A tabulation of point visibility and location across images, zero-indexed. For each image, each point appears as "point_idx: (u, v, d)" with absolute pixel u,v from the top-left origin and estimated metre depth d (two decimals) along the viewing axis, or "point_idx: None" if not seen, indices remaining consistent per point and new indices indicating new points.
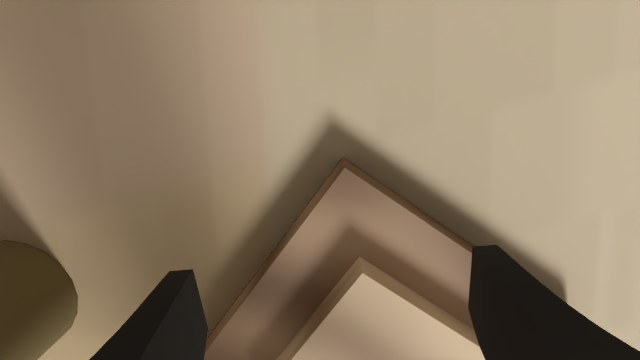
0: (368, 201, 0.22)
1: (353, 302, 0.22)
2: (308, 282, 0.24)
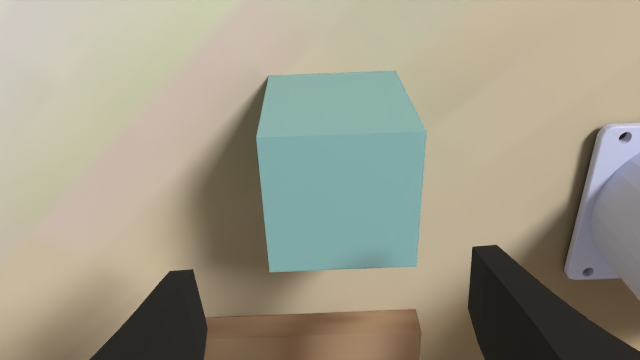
0: None
1: None
2: None
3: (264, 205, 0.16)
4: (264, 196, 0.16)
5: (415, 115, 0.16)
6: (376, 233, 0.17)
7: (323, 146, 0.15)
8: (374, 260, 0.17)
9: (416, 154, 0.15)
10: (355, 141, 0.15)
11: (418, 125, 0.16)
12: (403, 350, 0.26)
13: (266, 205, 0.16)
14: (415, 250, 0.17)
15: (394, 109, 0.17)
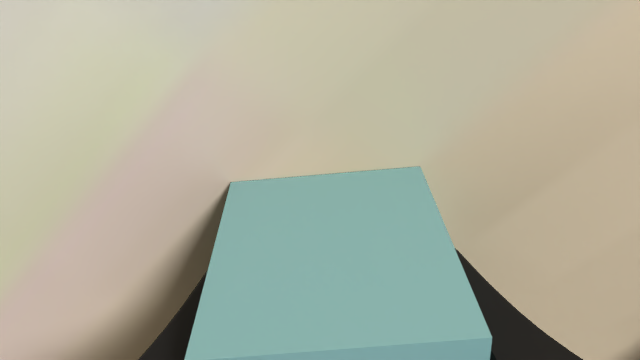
0: None
1: None
2: None
3: None
4: None
5: (465, 287, 0.09)
6: None
7: None
8: None
9: None
10: (364, 357, 0.08)
11: (474, 318, 0.09)
12: None
13: None
14: None
15: (427, 269, 0.10)
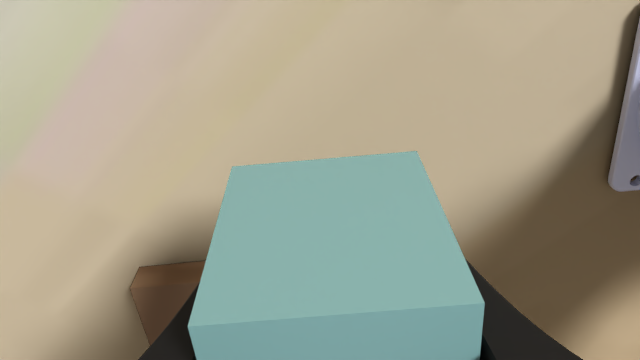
0: None
1: None
2: None
3: None
4: None
5: (459, 258, 0.10)
6: None
7: (305, 333, 0.09)
8: None
9: (467, 338, 0.09)
10: (361, 323, 0.09)
11: (468, 286, 0.09)
12: None
13: None
14: None
15: (422, 243, 0.10)
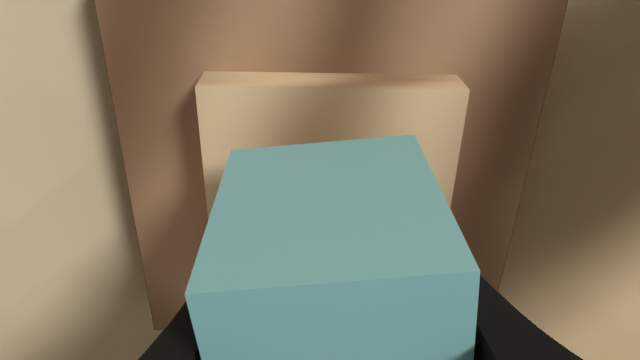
0: (165, 297, 0.21)
1: None
2: None
3: None
4: None
5: (455, 231, 0.10)
6: None
7: (301, 302, 0.09)
8: None
9: (463, 307, 0.09)
10: (356, 291, 0.09)
11: (464, 256, 0.09)
12: (537, 18, 0.16)
13: None
14: None
15: (419, 217, 0.10)
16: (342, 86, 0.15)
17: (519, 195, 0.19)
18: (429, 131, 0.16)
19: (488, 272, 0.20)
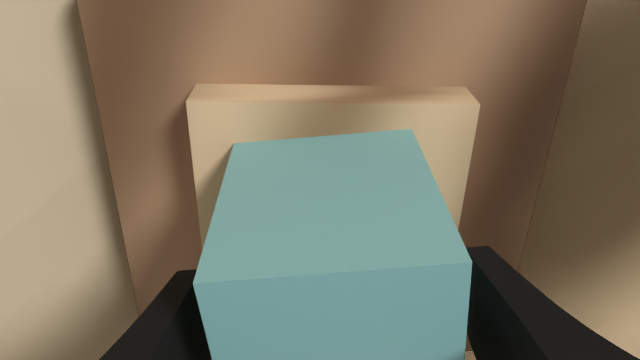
0: None
1: None
2: None
3: None
4: None
5: (449, 224, 0.10)
6: None
7: (303, 290, 0.09)
8: None
9: (456, 296, 0.10)
10: (356, 280, 0.09)
11: (457, 248, 0.10)
12: (552, 27, 0.15)
13: None
14: None
15: (415, 210, 0.11)
16: (344, 100, 0.14)
17: (530, 213, 0.18)
18: (436, 148, 0.15)
19: None
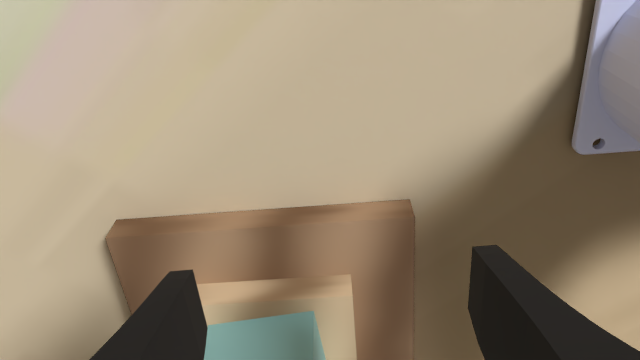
0: None
1: None
2: None
3: None
4: None
5: None
6: None
7: None
8: None
9: None
10: None
11: None
12: (396, 240, 0.24)
13: None
14: None
15: None
16: (270, 298, 0.24)
17: (412, 338, 0.27)
18: (331, 319, 0.24)
19: None
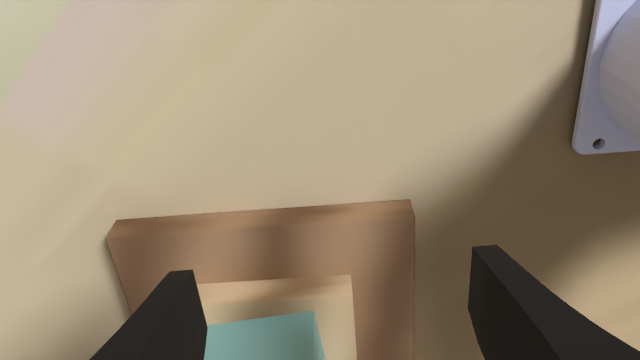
0: None
1: None
2: None
3: None
4: None
5: None
6: None
7: None
8: None
9: None
10: None
11: None
12: (397, 240, 0.24)
13: None
14: None
15: None
16: (270, 298, 0.24)
17: (412, 338, 0.27)
18: (331, 319, 0.24)
19: None
